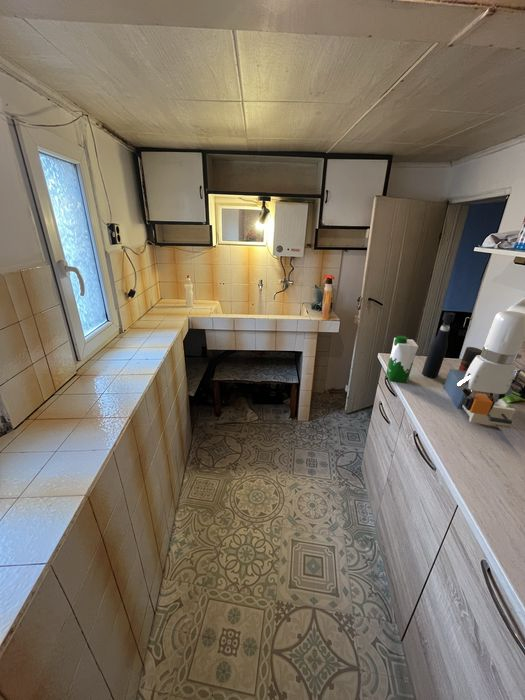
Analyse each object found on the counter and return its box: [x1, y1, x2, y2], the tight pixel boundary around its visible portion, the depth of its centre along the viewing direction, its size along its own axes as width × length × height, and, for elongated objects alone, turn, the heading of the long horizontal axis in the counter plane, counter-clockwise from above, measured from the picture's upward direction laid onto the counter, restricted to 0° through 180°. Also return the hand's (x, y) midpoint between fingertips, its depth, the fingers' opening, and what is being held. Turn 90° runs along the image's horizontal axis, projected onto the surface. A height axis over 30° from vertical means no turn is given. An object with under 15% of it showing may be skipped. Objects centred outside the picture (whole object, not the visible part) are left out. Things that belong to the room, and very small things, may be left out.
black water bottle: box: [421, 311, 456, 379], centre depth 124 cm, size 6×6×30 cm
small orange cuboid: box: [469, 393, 493, 415], centre depth 85 cm, size 4×4×4 cm
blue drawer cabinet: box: [443, 368, 487, 410], centre depth 111 cm, size 16×13×9 cm
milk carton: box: [385, 334, 420, 384], centre depth 122 cm, size 9×9×20 cm
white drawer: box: [461, 392, 517, 427], centre depth 100 cm, size 19×11×7 cm, turn 167°
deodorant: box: [457, 346, 482, 371], centre depth 125 cm, size 6×6×15 cm
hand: (476, 408), depth 86 cm, fingers closed on small orange cuboid, 4 cm apart
